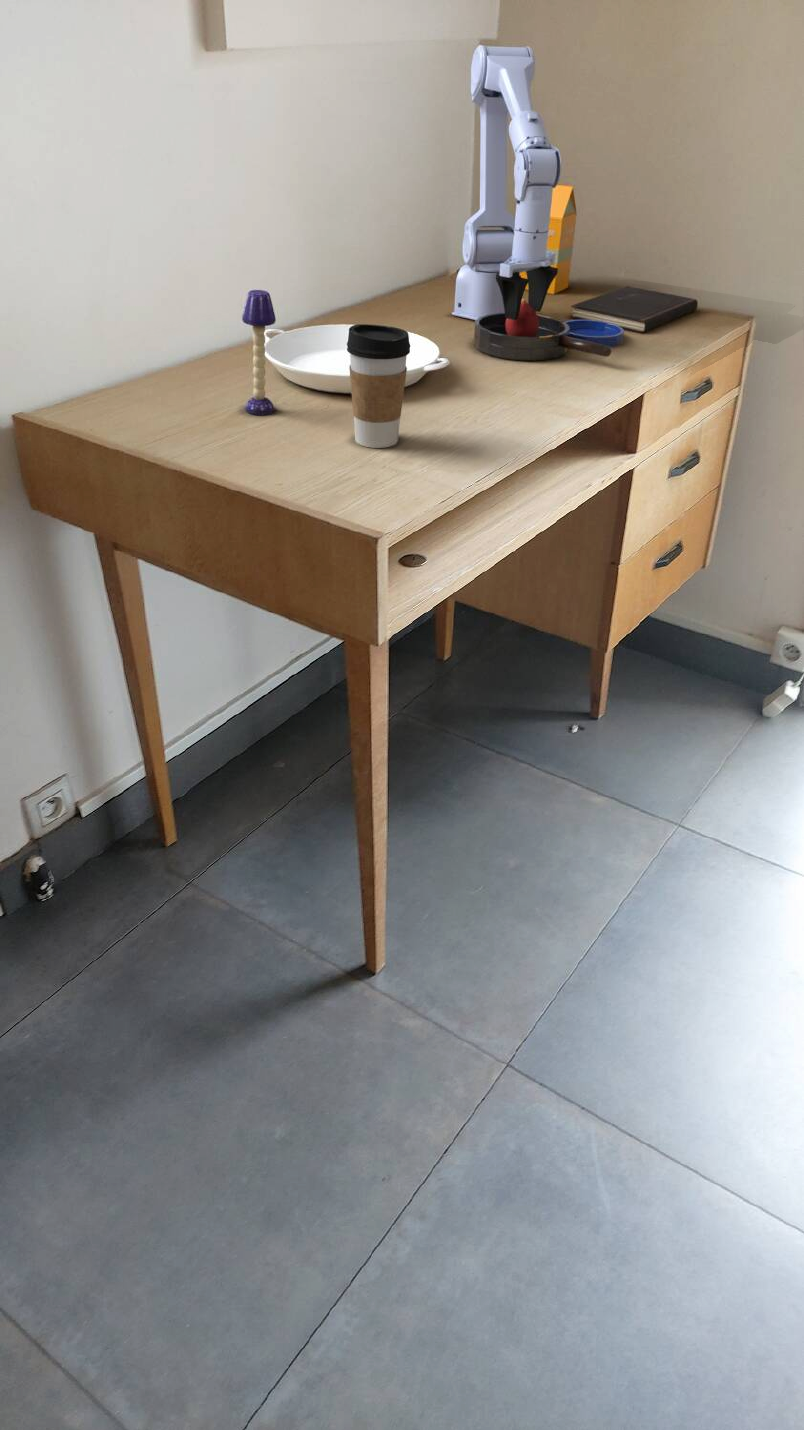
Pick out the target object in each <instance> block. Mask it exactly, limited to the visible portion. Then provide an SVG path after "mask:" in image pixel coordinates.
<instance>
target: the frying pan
mask: <svg viewBox="0 0 804 1430" xmlns="http://www.w3.org/2000/svg"><path fill="white" fill-rule="evenodd" d="M536 314H537V313H536ZM537 316H538V320H539V328H538V332H537V334H536V335H535V337H523V336H512V335H508V334H507V331H506V319H507V318H506V317H505V313H495V314H488V315H485V316H482V317H479V318H478V319H477V320H474V329H473V330H474V332H473V346H474V348H476V349H477V350H478V351H480V352H482V353H484V354H486V355H489V356H491V357H495V358H499V359H504V360H512V361H523V362H524V361H525V362H526V361H528V362H531V361H546V360H550V359H554V358H557V357H560V356H563V355H564V354H565V353H566V352H567V351H568V348H565V347H561V346H559V340H560V338H561V336H567V337H569V330H570V328H569V326H568V324H566V323H565V321H563V320H560V319H558V318H556V317H553V316H547V315H544V314H537Z"/></svg>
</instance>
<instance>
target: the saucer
mask: <svg viewBox="0 0 804 1430" xmlns="http://www.w3.org/2000/svg"><path fill="white" fill-rule="evenodd" d="M564 322H565V323H566V324H568V326H569V328H570V330H569V337H572V338H576V339H581V340H585V341H589V342H594V343H598V344H602V345H607V346H609V347H610V348H612V347H617V346H619V345H621V344H622V343H623V339H624V334H625V329H622V327H619V326H617V325H615V324H612V323H608V322H603V321H596V320H579V319H571V320H565V321H564Z"/></svg>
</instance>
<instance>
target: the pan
mask: <svg viewBox="0 0 804 1430" xmlns="http://www.w3.org/2000/svg"><path fill="white" fill-rule="evenodd" d="M353 325H354V324H346V323H345V324H344V323H343V324H323V325H312V326H305V327H299V328H295V329H290V330H287V331H284V330H283V329H276V328H275V329H273V328H272V329H265V332H264V335H265V343H264V346H265V354H264V356H265V358H266V359H267V360H268V361H269V362H270V363H271V364H272V366H273V367H274V368H275V369H276V370H277V371H278V372H279V373H280V374H281V375H282V376H283V377H284V378H285V379H286V380H288V381H290V382H292V383H294V384H296V385H298V386H301V387H303V388H307V389H310V390H315V391H320V392H325V393H326V392H327V393H331V394H333V393H334V394H345V395H346V394H347V395H352V393H351V381H350V369H349V366H350V364H351V362H350V353H349V352H348V351H347V342H348V335H349V328H350V327H351V326H353ZM405 331H406V330H405ZM406 332H408V334H409V343H410V353H409V354H408V355H407V358H406V367H407V372H406V379H405V387H404V388H406V387H407V388H408V387H409V386H412V385H414V384H415V383H418V382H419V380H421V379H422V378H423V377H424V376H425V375H426V374H427V373H428V372H430V371H437V370H440V369H444V368H446V367H447V366H449V365H450V363H451V362H450V360H449V359H448V358H445V357H441V350H440V348H439V346H437V344H436V343H434V342H433V341H432V340H430V339H429V338H427V337H425V336H422V335H420V334H416V333H413V332H411V331H406ZM267 334H275V335H274V336H273V337H269V336H268V335H267Z"/></svg>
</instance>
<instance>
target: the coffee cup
mask: <svg viewBox="0 0 804 1430" xmlns="http://www.w3.org/2000/svg"><path fill="white" fill-rule="evenodd" d="M352 325H353V326H351V327H350V328H349V335H348V342H347V351H348V352H349V353H350V362H351V364H350V366H349V369H350V381H351V393H352V394H351V402H352V412H353V413H352V415H353V427H354V440H355V442H356V443H357V445H359V446H363V447H366V448H373V449H385V448H391V447H393V446H395V445H396V444H397V443H398V440H399V433H400V424H401V423H400V422H401V416H402V411H403V409H402V408H403V400H404V395H405V388H406V387H405V379H406V372H407V367H406V358H407V355H408V354H409V353H410V343H409V334H408V332H409V331H407V332H406V330H405V329H402V328H399V327H394V326H390V325H380V324H369V323H368V324H367V323H366V324H365V323H362V324H361V323H359V324H352Z"/></svg>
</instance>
